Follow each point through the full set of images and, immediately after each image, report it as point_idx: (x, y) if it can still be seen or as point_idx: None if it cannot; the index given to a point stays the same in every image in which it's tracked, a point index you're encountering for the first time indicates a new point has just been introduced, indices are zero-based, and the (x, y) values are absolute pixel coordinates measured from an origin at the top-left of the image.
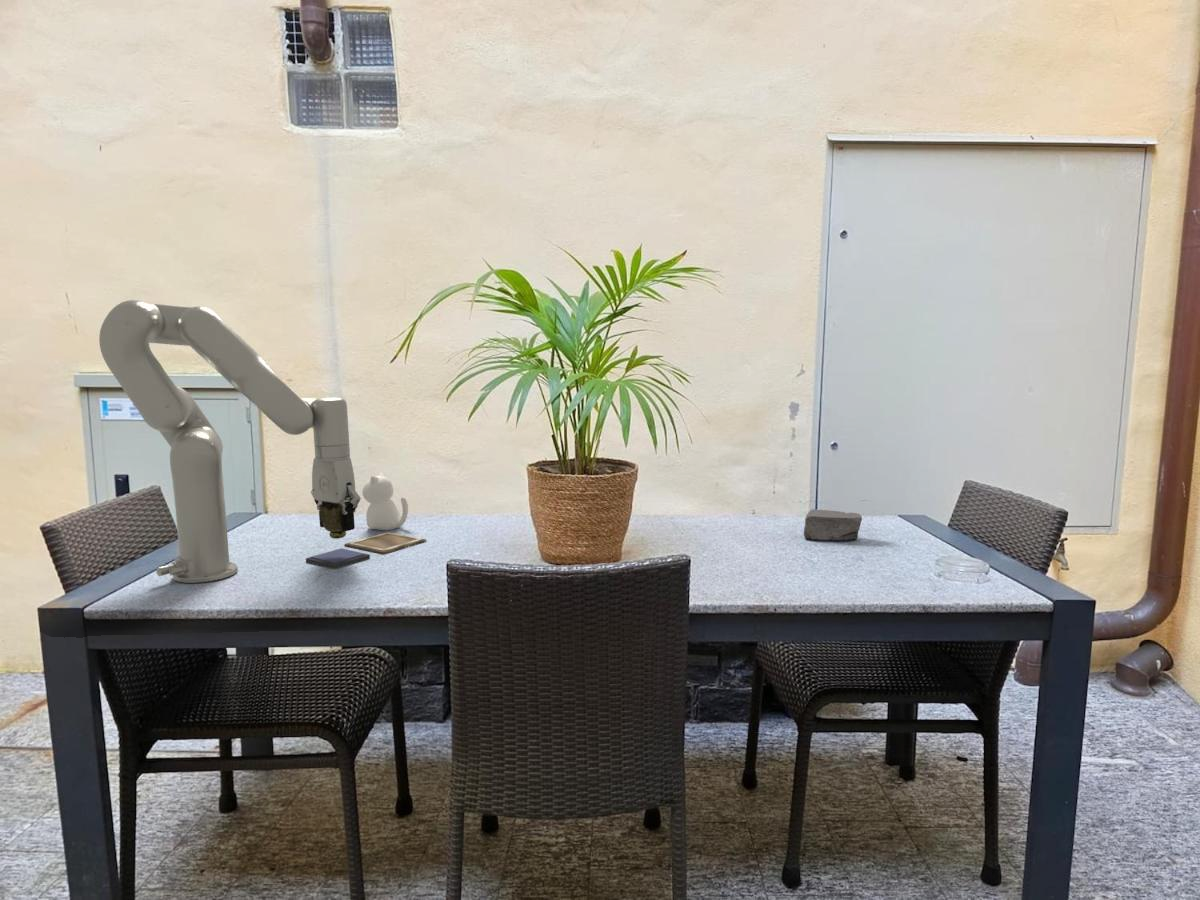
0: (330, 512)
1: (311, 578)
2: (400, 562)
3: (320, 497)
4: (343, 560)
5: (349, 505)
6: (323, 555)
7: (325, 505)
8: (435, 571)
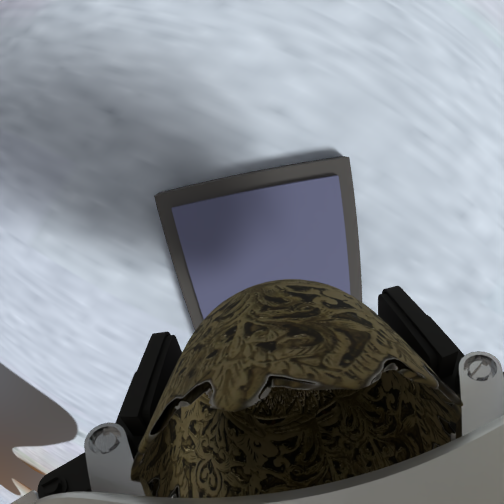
0: (179, 385)
1: (108, 79)
2: (105, 373)
3: (445, 497)
4: (183, 252)
5: (51, 489)
6: (313, 223)
7: (447, 423)
8: (9, 367)
